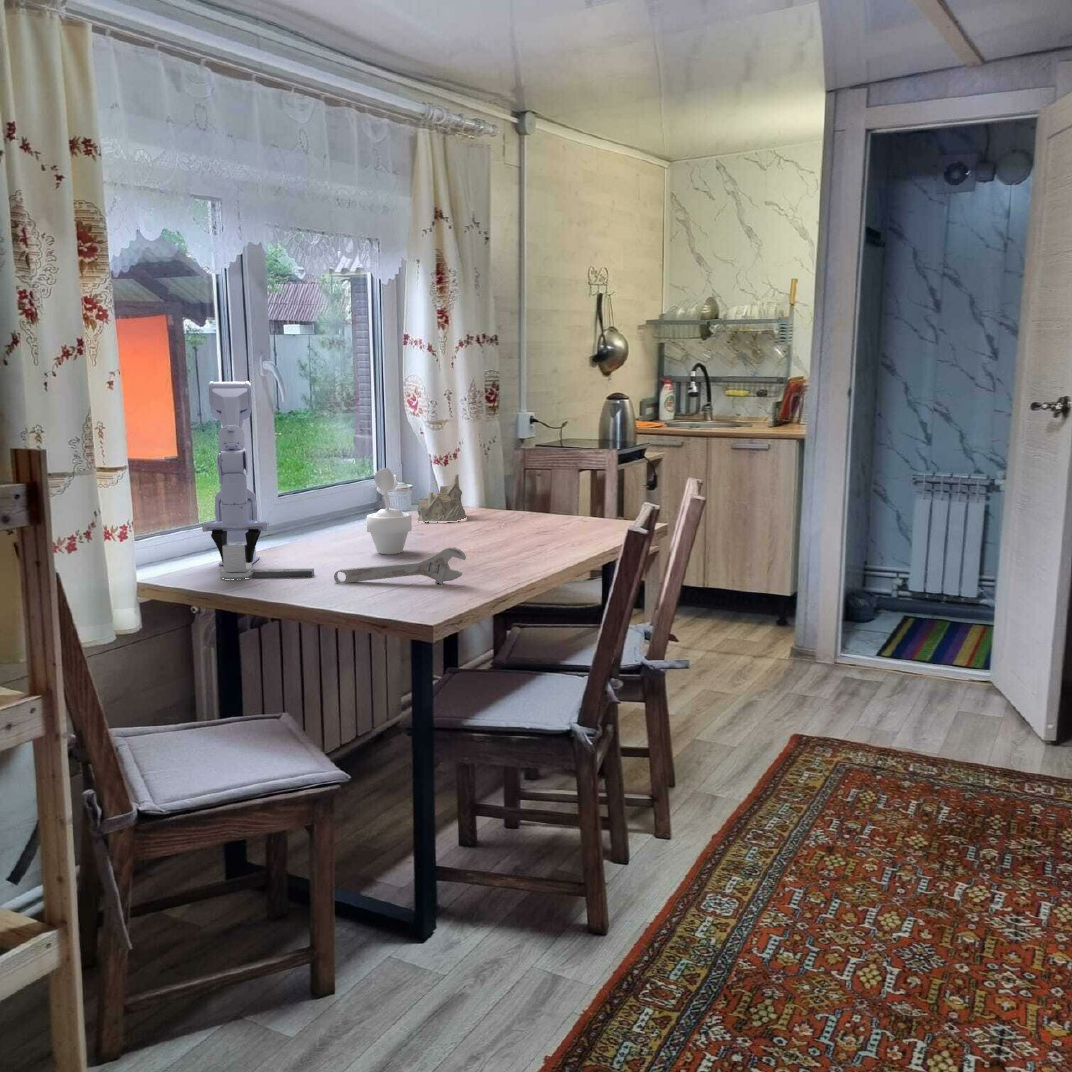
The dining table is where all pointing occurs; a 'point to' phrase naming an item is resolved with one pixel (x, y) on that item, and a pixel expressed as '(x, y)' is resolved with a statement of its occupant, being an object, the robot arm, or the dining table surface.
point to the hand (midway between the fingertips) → (237, 562)
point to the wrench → (409, 569)
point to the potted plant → (388, 518)
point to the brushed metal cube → (235, 557)
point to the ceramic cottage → (442, 504)
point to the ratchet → (268, 573)
